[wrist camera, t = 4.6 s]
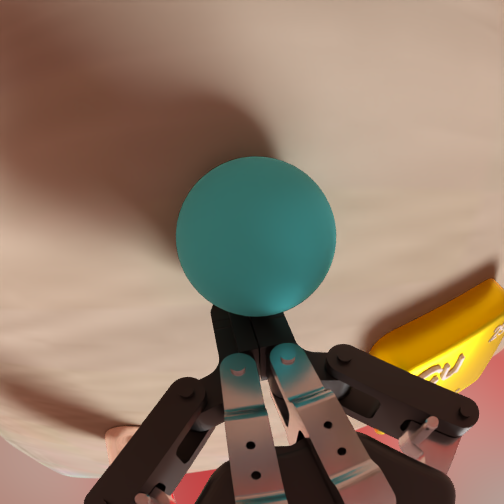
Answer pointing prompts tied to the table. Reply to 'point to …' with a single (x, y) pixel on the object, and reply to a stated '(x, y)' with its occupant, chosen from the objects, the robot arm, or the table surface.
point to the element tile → (449, 339)
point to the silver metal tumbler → (119, 441)
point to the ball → (256, 236)
